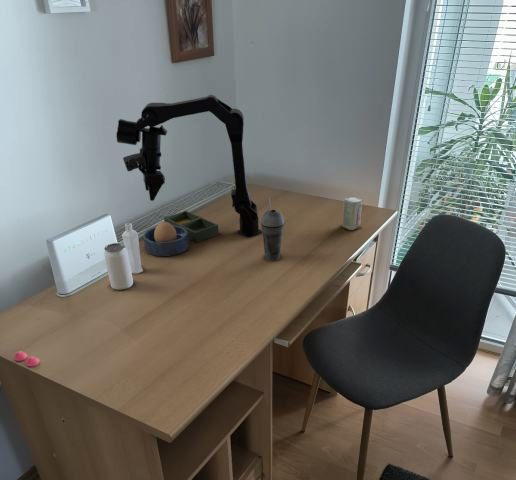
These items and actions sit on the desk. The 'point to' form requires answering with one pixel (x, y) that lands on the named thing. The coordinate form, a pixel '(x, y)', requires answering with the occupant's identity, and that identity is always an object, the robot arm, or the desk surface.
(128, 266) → the can
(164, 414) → the desk surface
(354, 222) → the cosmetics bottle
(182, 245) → the bowl
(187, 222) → the carton
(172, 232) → the egg
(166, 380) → the desk surface
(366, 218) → the desk surface
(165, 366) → the desk surface
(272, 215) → the beverage cup
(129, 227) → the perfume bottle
